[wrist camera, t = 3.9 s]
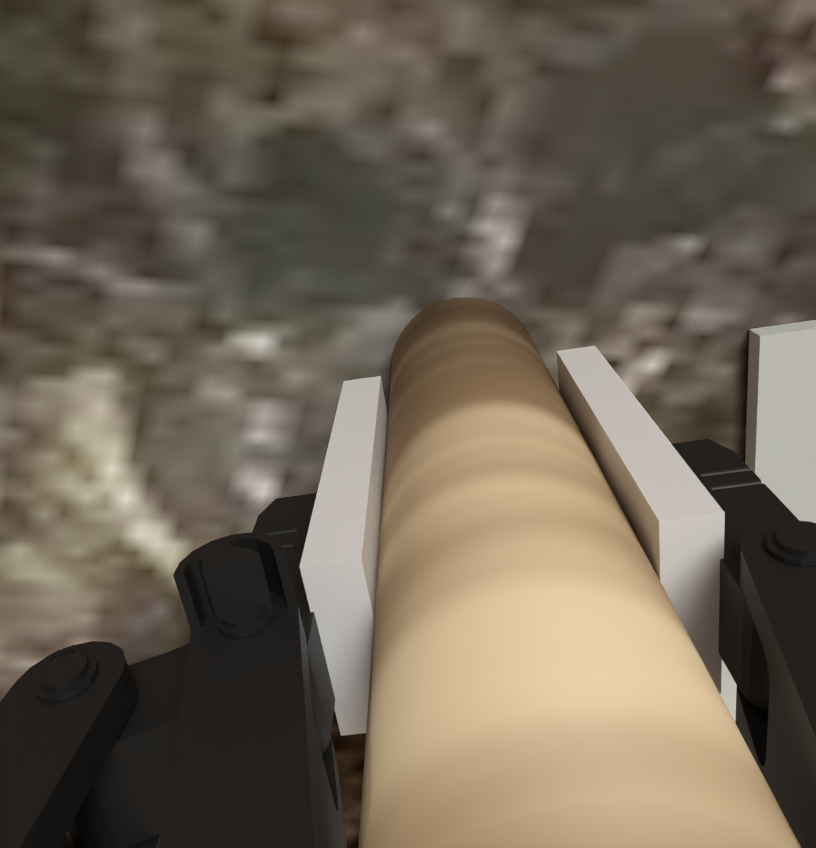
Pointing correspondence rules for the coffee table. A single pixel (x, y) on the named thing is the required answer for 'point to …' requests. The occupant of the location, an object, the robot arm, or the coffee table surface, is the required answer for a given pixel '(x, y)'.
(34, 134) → the coffee table surface
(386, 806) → the tan wooden rod
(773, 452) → the pad
